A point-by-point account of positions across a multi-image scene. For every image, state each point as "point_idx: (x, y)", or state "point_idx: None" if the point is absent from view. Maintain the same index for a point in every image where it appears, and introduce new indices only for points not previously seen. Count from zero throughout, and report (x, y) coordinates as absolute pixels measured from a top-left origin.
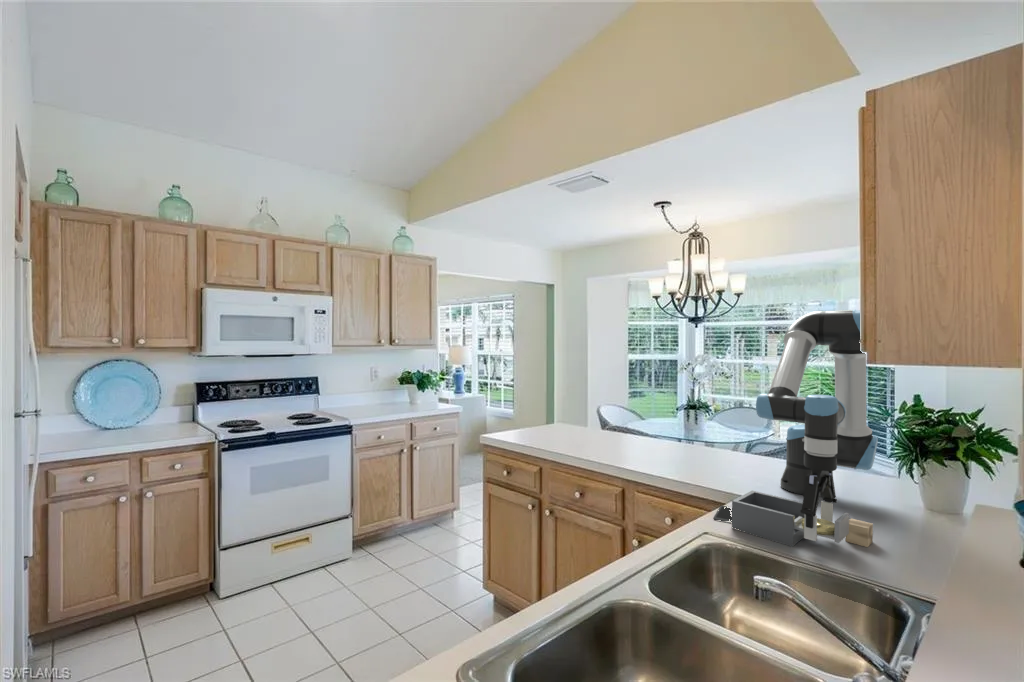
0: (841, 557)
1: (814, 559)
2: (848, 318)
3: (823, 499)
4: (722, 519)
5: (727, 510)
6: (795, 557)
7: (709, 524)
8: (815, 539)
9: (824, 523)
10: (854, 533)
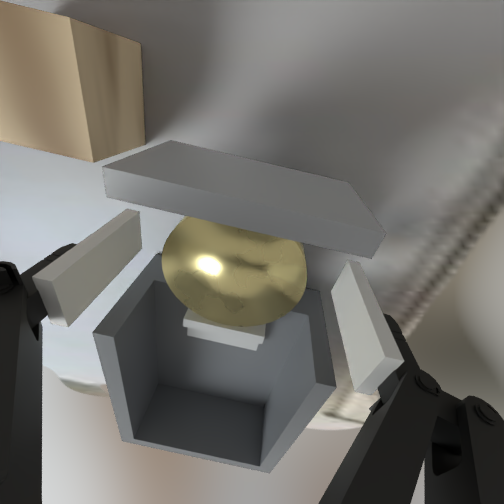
0: (339, 155)
1: (404, 238)
2: None
3: (40, 326)
4: None
5: None
6: (408, 283)
7: None
8: (361, 268)
9: (217, 258)
10: (116, 111)
